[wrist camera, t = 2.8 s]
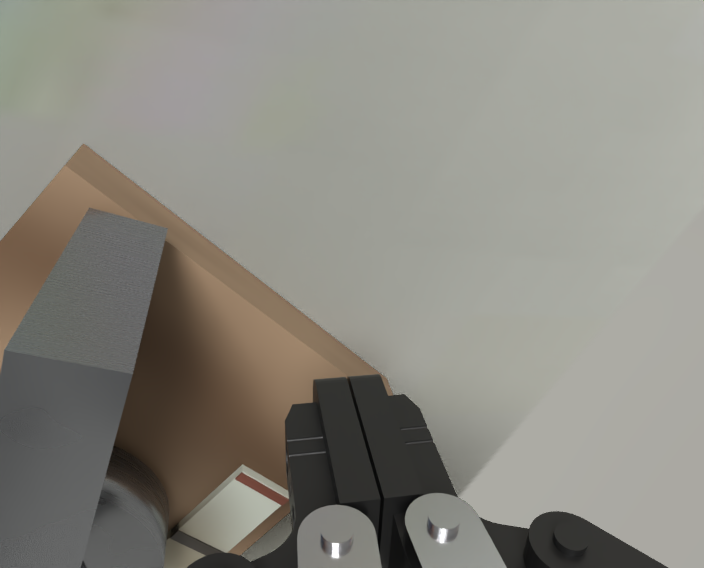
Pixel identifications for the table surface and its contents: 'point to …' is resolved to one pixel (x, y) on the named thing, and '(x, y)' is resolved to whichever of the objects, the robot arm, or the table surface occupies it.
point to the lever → (81, 409)
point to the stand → (189, 362)
